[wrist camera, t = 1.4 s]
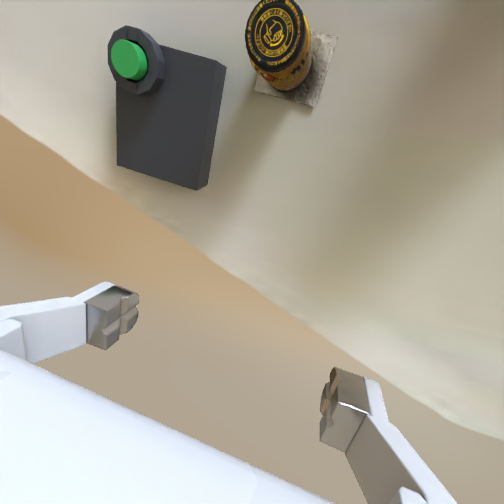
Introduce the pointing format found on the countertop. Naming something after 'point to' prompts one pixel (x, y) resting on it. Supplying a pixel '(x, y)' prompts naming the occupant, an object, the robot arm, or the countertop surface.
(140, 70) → the small green piece
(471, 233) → the countertop surface
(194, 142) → the control panel
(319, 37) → the condiment
